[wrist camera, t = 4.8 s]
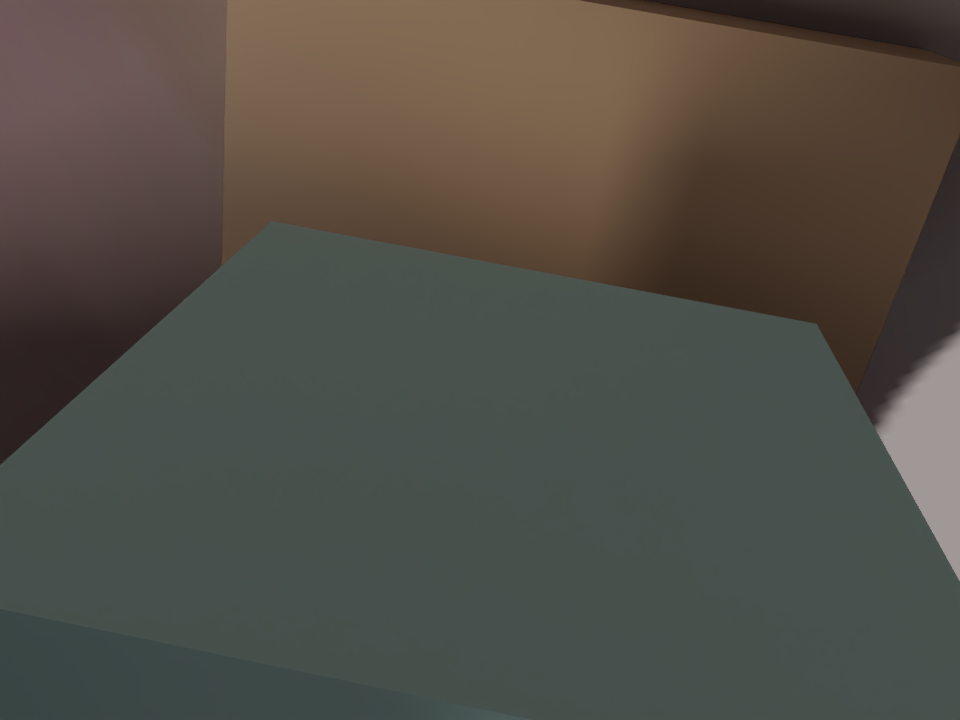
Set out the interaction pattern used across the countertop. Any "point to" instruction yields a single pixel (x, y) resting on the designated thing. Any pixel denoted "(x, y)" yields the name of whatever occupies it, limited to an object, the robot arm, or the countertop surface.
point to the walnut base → (597, 146)
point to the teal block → (465, 511)
